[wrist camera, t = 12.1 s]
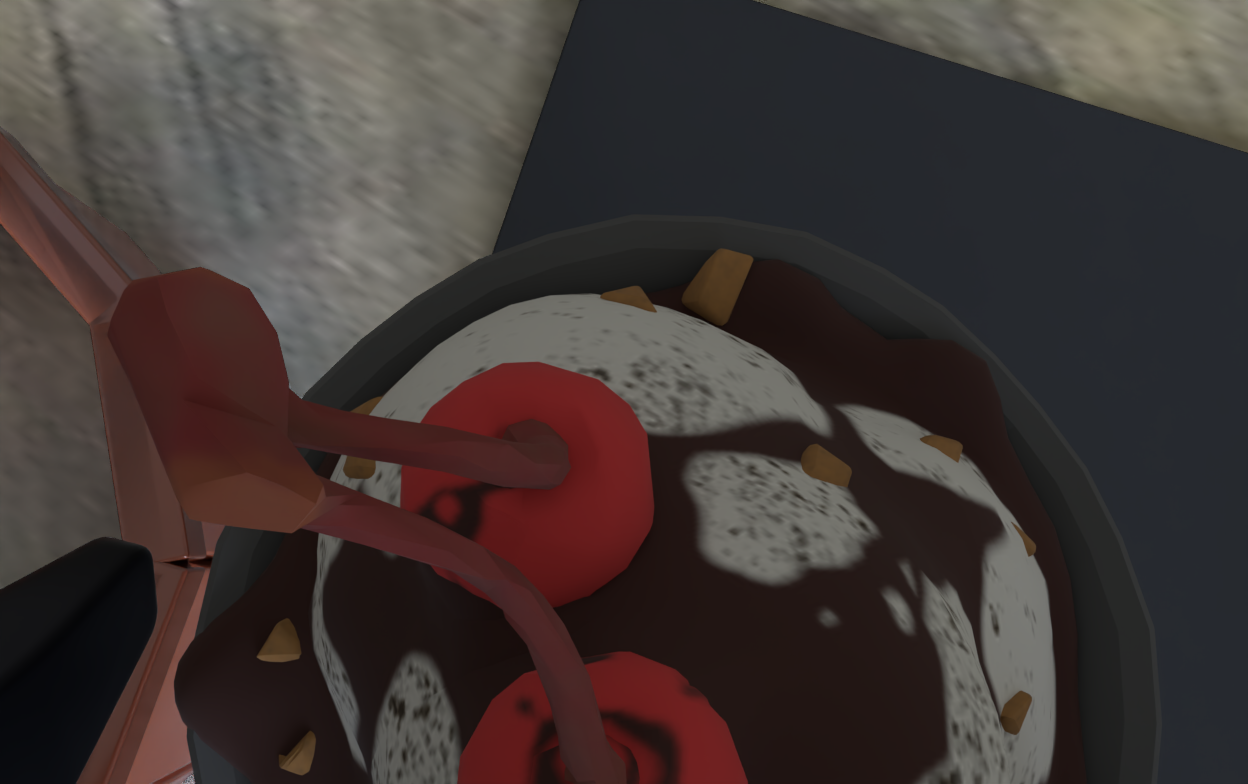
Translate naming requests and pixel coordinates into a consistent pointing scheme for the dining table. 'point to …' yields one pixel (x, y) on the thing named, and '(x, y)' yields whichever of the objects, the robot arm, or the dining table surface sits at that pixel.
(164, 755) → the serving tub
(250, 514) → the sundae
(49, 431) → the dining table surface
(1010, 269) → the placemat
